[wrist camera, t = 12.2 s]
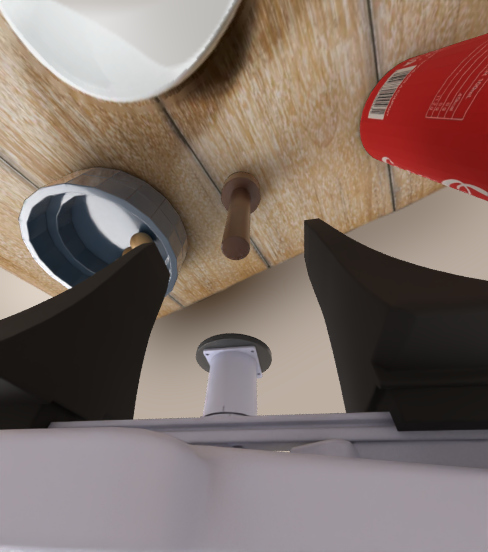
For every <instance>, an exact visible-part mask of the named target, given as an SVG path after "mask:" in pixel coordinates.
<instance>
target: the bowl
mask: <svg viewBox="0 0 488 552" xmlns="http://www.w3.org/2000/svg"><path fill="white" fill-rule="evenodd" d="M19 225H20V230H21V236H22V239H23V241H24V243H25V245H26V247H27V248H28V250H29V252H30V254H31V255H32V257H33V258H34V260H35V261H36V262H37V263H38V264H39V265H40V266H41V267H42V268H43V269H44V270H45V271H46V272H47V274H48V275H50V276H51V277H52V278H54V279H55V280H56V281H58V282H59V283H61V284H62V285H63V286H65V287H66V288H68V289H70V288H72V287H74V286H76V285H77V284H79V283H81V282H83V281H84V280H86V279H88V278H89V277H91V276H92V275H94V274H95V273H97V272H99V271H100V270H102V269H103V268H105V267H106V266H108V265H109V264H111V263H112V262H114V261H115V260H116V259H118V258H120V257H121V256H122V253H123V251H124V250H125V249H126V248H128V247H131V246H130V239H131V237H132V236H133V235H134V234H136V233H139V232H142V233H146V234H148V235H149V236H150V237H151V238H152V240H153V242H155V244H156V246H157V248H158V250H159V252H160V254H161V256H162V258H163V260H164V262H165V264H166V266H167V268H168V270H169V272H170V278H169V284H168V288H167V292H166V294H165V297H166V296H167V295H168V294H169V293H170V292H171V291H172V290H173V287H174V285H175V282H176V280H177V277H178V275H179V272H180V270H181V267H182V265H183V262H184V260H185V257H186V254H187V234H186V231H185V228H184V226H183V223H182V220H181V218H180V216H179V215H178V213H177V212H176V211H175V209H174V208H173V207H172V205H171V204H170V203H169V201H168V200H167V199H166V198H165V197H164V196H163V195H162V194H160V193H159V192H158V191H157V190H155V189H154V188H153V187H152V186H150V185H149V184H148V183H147V182H145V181H143V180H141V179H138V178H136V177H134V176H132V175H130V174H128V173H125V172H123V171H120V170H114V169H107V168H101V167H94V168H89V169H84V170H78V171H75V172H73V173H71V174H68V175H66V176H64V177H62V178H60V179H58V180H56V181H54V182H51V183H49V184H47V185H45V186H43V187H41V188H39V189H38V190H37V191H35V192H34V193H33V194H32V195H30V196H29V197H28V198H27V199H25V200H24V203H23V206H22V209H21V212H20V215H19Z"/></svg>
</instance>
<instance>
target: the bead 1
mask: <svg viewBox="0 0 488 552" xmlns="http://www.w3.org/2000/svg"><path fill="white" fill-rule="evenodd" d="M130 250H132V248H131V247H128V248H126V249H125V250H124V251H123V253H122V256H123V255H124V254H126V253H127V252H129V251H130Z"/></svg>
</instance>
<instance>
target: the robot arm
mask: <svg viewBox="0 0 488 552" xmlns="http://www.w3.org/2000/svg"><path fill="white" fill-rule="evenodd" d="M304 258H305V262H306V267H307V271H308V275H309V278H310V281H311V284H312V286H313V289H314V292H315V294H316V297H317V300H318V302H319V305H320V307H321V310H322V313H323V316H324V319H325V322H326V326H327V330H328V334H329V338H330V342H331V346H332V350H333V354H334V358H335V363H336V368H337V372H338V376H339V381H340V385H341V390H342V395H343V400H344V404H345V410H346V413H330V414H299V415H298V414H297V415H267V416H266V415H265V416H257V378H262V372H261V368H260V364H259V360H258V356H257V352H256V348H255V346H239V347H225V348H211V349H204V350H203V353H204V355H205V357H206V359H207V361H208V363H209V365H210V372H209V378H208V385H207V392H206V398H205V405H204V411H203V416H202V417H200V418H169V419H138V420H133V416H134V409H135V401H136V395H137V389H138V384H139V378H140V373H141V368H142V364H143V360H144V355H145V351H146V347H147V344H148V340H149V336H150V333H151V330H152V328H153V325H154V322H155V320H156V317H157V315H158V312H159V310H160V307H161V305H162V302H163V300H164V297H165V294H166V292H167V288H168V284H169V278H170V272H169V270H168V268H167V266H166V264H165V262H164V260H163V258H162V256H161V254H160V252H159V250H158V248H157V246H156V244H155V242H150V243H143V244H141V245H139V246H137V247H135V248H134V249H132V250H130V251H129V252H127V253H126V254H124V255H123V256H121V257H120V258H118V259H117V260H115V261H114V262H112V263H111V264H109V265H108V266H106V267H105V268H103V269H102V270H100V271H99V272H97V273H95V274H94V275H92V276H91V277H89V278H88V279H86V280H84V281H83V282H81V283H79V284H77V285H76V286H74V287H72V288H70V289H68V290H66V291H65V292H63V293H61V294H59V295H57V296H55V297H53V298H51V299H48V300H46V301H44V302H42V303H40V304H38V305H36V306H33V307H31V308H29V309H27V310H24V311H22V312H20V313H17V314H15V315H12V316H10V317H7V318H5V319H2V320H0V552H488V281H486V280H480V279H474V278H469V277H464V276H459V275H454V274H450V273H446V272H442V271H437V270H433V269H429V268H426V267H422V266H418V265H415V264H412V263H409V262H406V261H402V260H399V259H396V258H394V257H390V256H388V255H386V254H383V253H381V252H378V251H376V250H373V249H371V248H369V247H367V246H365V245H363V244H361V243H359V242H356V241H355V240H353V239H351V238H349V237H347V236H346V235H344V234H343V233H341V232H339V231H338V230H336V229H335V228H333V227H332V226H330V225H328V224H327V223H325V222H324V221H322V220H320V219H319V218H318V219H311V220H304ZM277 451H290V453H289V452H277Z"/></svg>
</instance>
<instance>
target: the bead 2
mask: <svg viewBox="0 0 488 552" xmlns="http://www.w3.org/2000/svg"><path fill="white" fill-rule="evenodd" d="M150 242H153V240H152V238H151V237H150V236H149V235H148V234H146V233H142V232H139V233H136V234H134V235H133V236H132V237H131V239H130V246H131V248H132V249H134V248H135V247H137V246H139V245H141V244H143V243H150Z"/></svg>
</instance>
